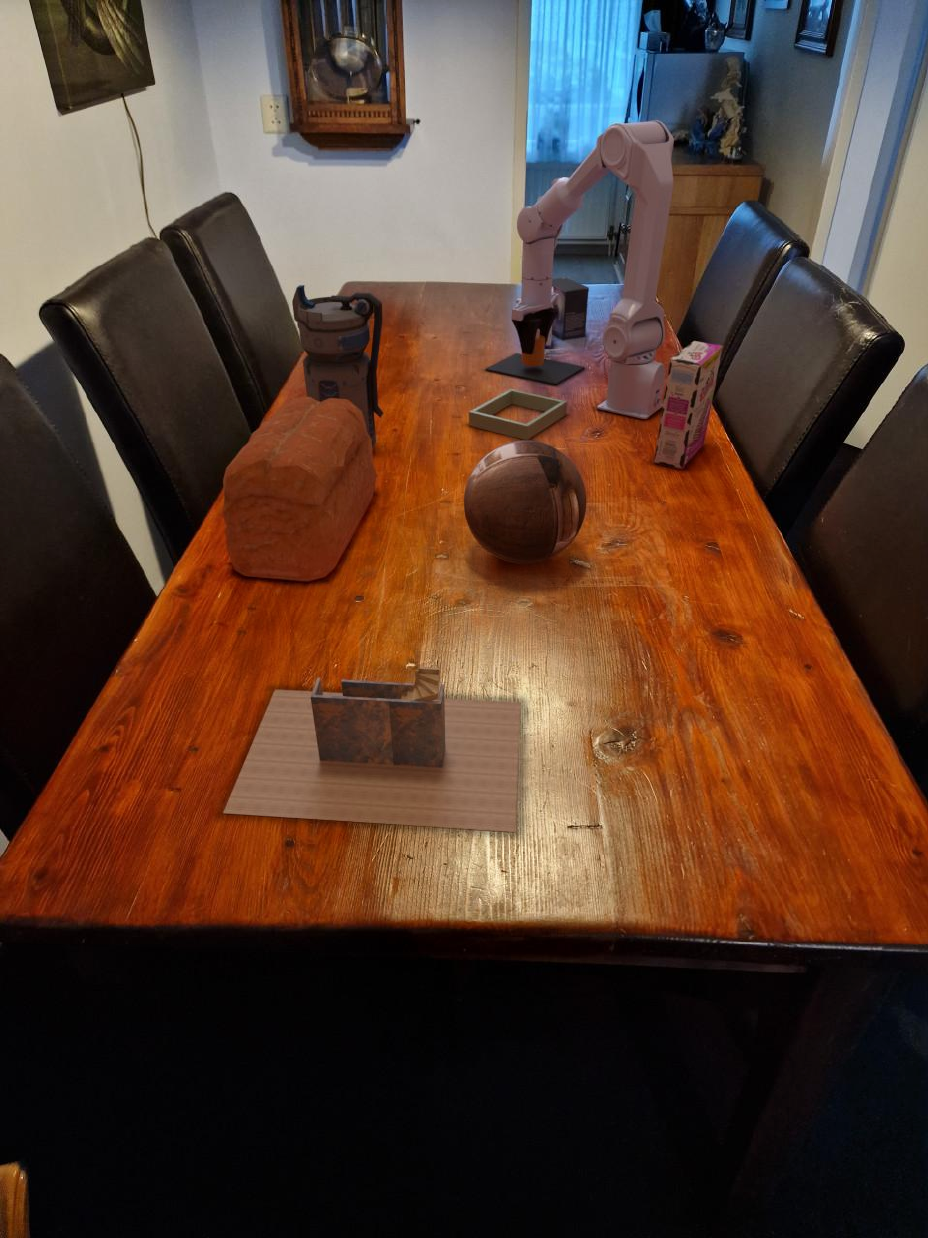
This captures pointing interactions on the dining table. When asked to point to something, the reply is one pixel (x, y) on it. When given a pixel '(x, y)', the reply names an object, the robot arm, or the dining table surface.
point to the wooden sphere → (525, 502)
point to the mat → (536, 370)
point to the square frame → (486, 421)
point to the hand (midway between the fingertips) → (533, 349)
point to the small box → (570, 308)
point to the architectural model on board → (384, 757)
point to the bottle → (535, 352)
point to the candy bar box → (687, 403)
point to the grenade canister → (341, 349)
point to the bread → (298, 490)
